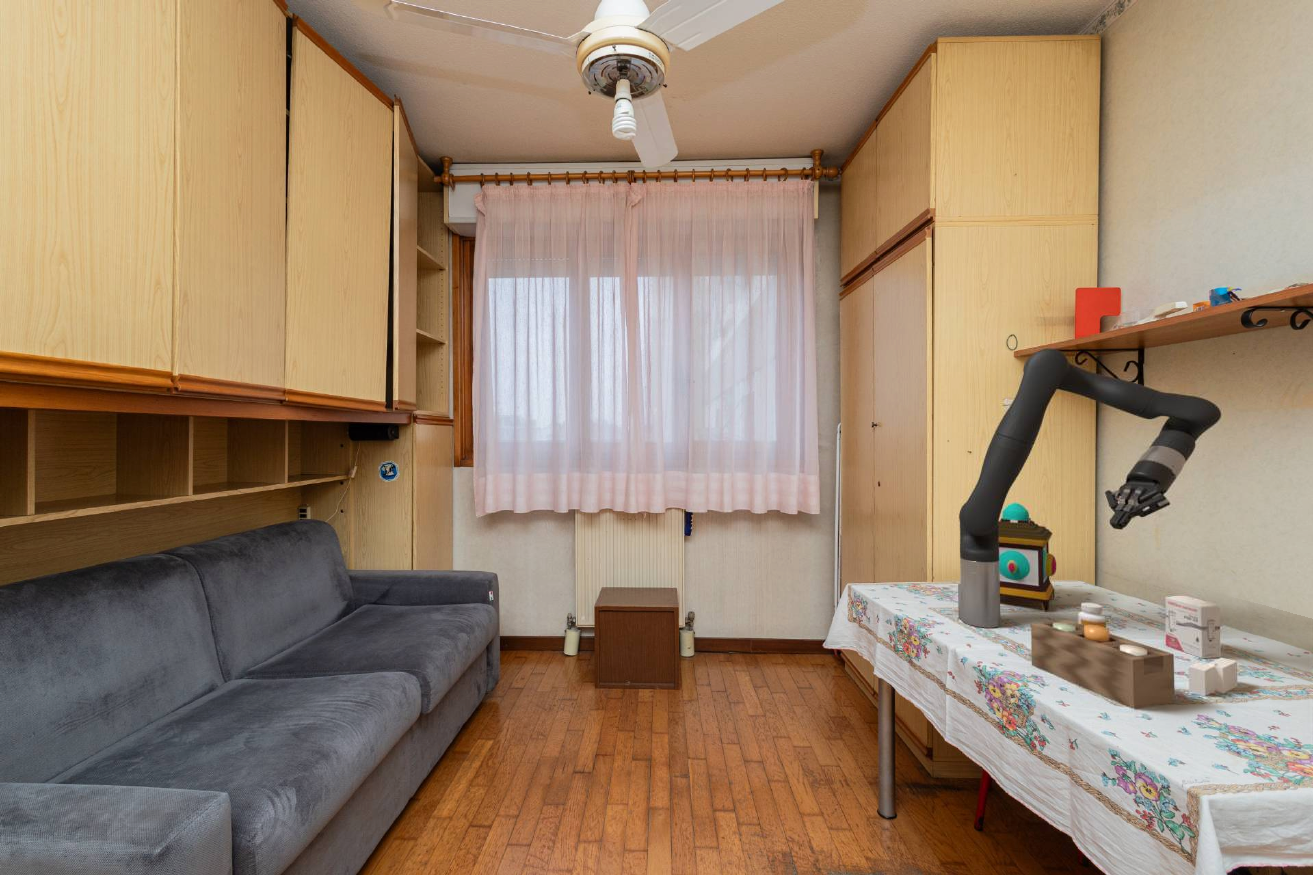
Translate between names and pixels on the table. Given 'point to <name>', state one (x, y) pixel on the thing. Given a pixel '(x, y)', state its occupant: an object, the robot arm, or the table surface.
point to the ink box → (1193, 626)
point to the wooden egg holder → (1104, 665)
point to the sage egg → (1064, 626)
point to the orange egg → (1096, 633)
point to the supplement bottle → (1091, 615)
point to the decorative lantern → (1025, 557)
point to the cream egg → (1133, 650)
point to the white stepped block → (1213, 676)
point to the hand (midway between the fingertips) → (1115, 526)
